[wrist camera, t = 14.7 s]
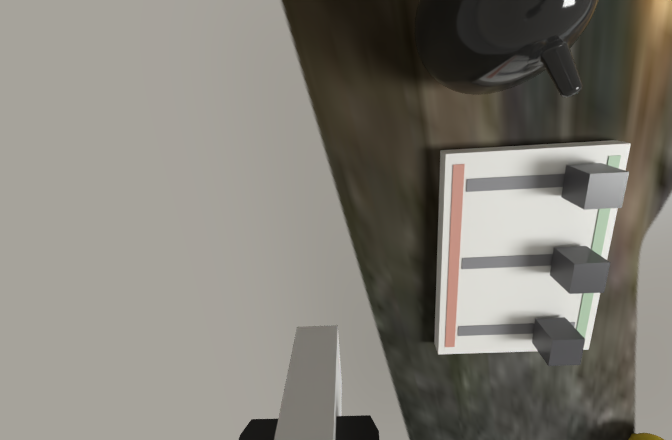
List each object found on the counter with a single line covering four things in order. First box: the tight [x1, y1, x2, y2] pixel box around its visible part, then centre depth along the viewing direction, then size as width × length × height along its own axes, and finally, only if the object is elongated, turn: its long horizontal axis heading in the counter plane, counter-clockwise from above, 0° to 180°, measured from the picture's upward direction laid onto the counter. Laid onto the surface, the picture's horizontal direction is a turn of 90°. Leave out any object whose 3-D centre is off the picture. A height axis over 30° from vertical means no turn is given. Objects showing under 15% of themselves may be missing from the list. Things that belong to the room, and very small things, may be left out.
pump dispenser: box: [415, 0, 598, 97], centre depth 25 cm, size 10×10×15 cm
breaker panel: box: [434, 140, 631, 354], centre depth 38 cm, size 22×16×2 cm
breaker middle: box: [550, 246, 610, 294], centre depth 35 cm, size 3×3×4 cm
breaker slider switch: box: [532, 317, 585, 366], centre depth 38 cm, size 3×3×4 cm
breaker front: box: [561, 163, 629, 210], centre depth 32 cm, size 3×3×4 cm
